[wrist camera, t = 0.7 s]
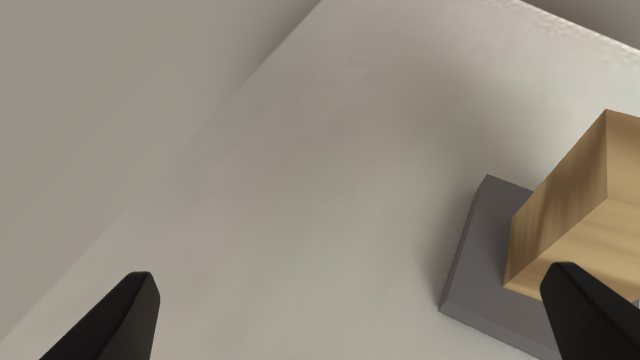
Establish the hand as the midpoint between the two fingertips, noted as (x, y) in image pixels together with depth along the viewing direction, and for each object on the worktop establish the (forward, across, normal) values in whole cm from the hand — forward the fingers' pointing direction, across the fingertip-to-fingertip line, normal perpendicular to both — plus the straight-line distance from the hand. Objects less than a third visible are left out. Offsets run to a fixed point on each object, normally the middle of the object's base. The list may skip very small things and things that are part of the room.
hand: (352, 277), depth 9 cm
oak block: (+10, -14, +12) cm, 20 cm away
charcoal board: (+10, -14, +13) cm, 22 cm away
